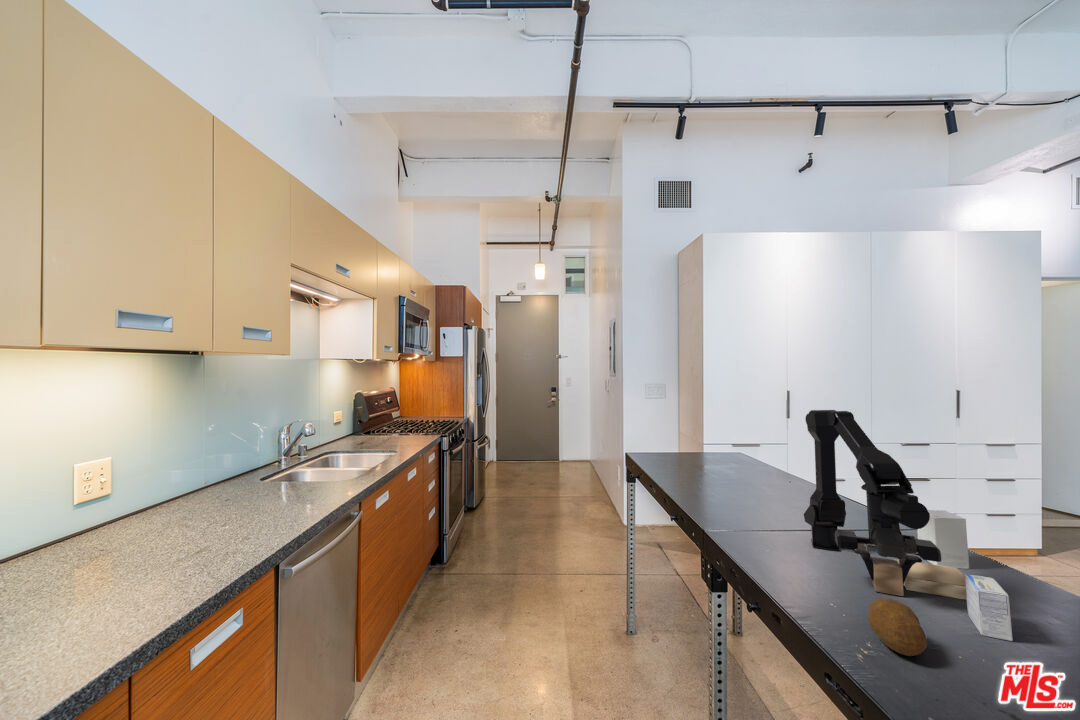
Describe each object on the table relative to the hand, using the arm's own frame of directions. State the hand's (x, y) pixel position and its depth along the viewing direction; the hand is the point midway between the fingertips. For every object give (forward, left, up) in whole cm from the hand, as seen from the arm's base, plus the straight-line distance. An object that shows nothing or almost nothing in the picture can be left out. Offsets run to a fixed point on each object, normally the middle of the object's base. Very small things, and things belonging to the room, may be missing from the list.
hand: (886, 582), depth 100 cm
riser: (+10, +8, -2) cm, 13 cm away
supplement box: (+16, +24, -2) cm, 29 cm away
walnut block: (0, 0, -2) cm, 2 cm away
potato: (-3, -24, -2) cm, 24 cm away
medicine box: (+14, -10, -2) cm, 17 cm away
